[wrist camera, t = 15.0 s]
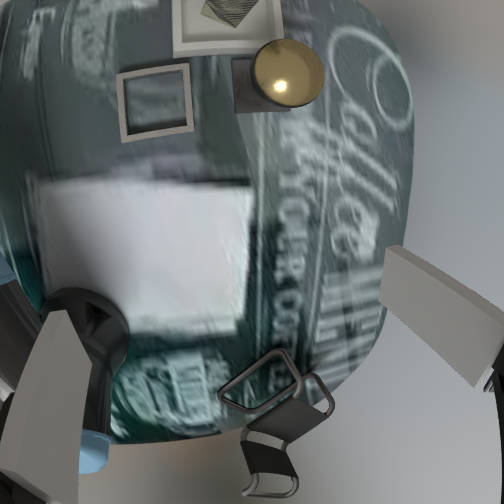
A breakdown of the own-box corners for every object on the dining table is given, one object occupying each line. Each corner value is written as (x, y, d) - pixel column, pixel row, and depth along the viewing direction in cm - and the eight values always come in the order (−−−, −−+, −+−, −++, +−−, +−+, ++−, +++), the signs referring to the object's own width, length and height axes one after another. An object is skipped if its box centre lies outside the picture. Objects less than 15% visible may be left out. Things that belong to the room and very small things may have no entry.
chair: (209, 395, 49) (238, 497, 30) (279, 341, 48) (339, 442, 29) (251, 415, 55) (285, 499, 36) (314, 368, 54) (369, 451, 35)
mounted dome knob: (233, 115, 32) (257, 107, 23) (229, 60, 29) (251, 35, 20) (289, 113, 34) (328, 108, 25) (285, 60, 31) (322, 41, 22)
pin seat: (123, 143, 30) (121, 143, 28) (118, 77, 26) (116, 74, 25) (193, 131, 32) (194, 131, 30) (188, 66, 28) (189, 62, 27)
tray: (173, 58, 27) (173, 51, 25) (171, -22, 22) (172, -32, 19) (276, 54, 30) (285, 49, 27) (268, -21, 25) (276, -30, 22)
